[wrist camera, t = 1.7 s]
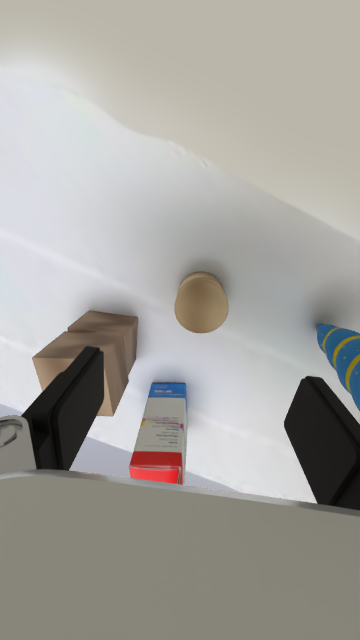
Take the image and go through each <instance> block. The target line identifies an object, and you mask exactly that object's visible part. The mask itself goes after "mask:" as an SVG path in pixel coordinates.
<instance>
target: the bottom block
mask: <svg viewBox="0 0 360 640" xmlns="http://www.w3.org/2000/svg"><path fill="white" fill-rule="evenodd" d="M137 325H138V317H130V316H123V315H116V314H109V313H102V312H95V311H88V312H87V313H85V314H84V315H83V316H82V317H80V318H79V319H78V320H77V321H75V322H74V323H73V324H72V325H70V326H69V327H68V331H73V332H122V334H123V342H124V349H125V357H126V365H127V372H128V375H129V373H130V371H131V369H132V366H133V364H134V362H135V360H136V344H137Z"/></svg>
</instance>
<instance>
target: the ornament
mask: <svg viewBox="0 0 360 640" xmlns="http://www.w3.org/2000/svg"><path fill="white" fill-rule="evenodd" d="M317 339H318V344H319V346H320V348H321V349H322V351H323V352H324V353H325V354H326V355H327V358H328V360H329V362H330V364H331V366H332V367H333V368H334V369H335V370H336V371H337V374H338V377H339V380H340V382H341V384H342V385H343V387H344V388H345V389H346V390H347V391H348V392H349V393H350V394H351V395H352V398H353V400H354V402H355V404H356V406H357V408H358V409H359V411H360V334H359V333H357V332H355V331H352V330H348V329H343V328H339V327H336V326H332V325H325V324H319V325H318V326H317Z"/></svg>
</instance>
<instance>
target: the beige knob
mask: <svg viewBox="0 0 360 640" xmlns="http://www.w3.org/2000/svg"><path fill="white" fill-rule="evenodd" d="M174 309H175V315H176V318H177V320H178V321H179V323H180V324H181V325H182V326H183V327H184V328H186V329H187V330H189V331H192V332H195V333H207V332H211V331H213V330H215V329H217V328H218V327H220V326H221V325H222V323H223V322H224V321H225V319H226V317H227V314H228V301H227V298H226V296H225V293H224V291H223V288H222V285H221V283H220V282H219V280H218V279H217V278H216V277H215V276H213V275H212V274H210V273H207V272H195V273H192V274H190V275H189V276H187V277H186V278H185V279H184V280H183V281H182V283H181V285H180V287H179V291H178V294H177V298H176V301H175V308H174Z"/></svg>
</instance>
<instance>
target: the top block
mask: <svg viewBox="0 0 360 640" xmlns="http://www.w3.org/2000/svg"><path fill="white" fill-rule="evenodd" d="M86 346H92V347H99V348H100V351H103V352H104V401H103V404H102V406H101V408H100V410H99V412H98V414H97V416H114V413H115V411H116V409H117V406H118V404H119V402H120V400H121V397H122V395H123V393H124V391H125V388H126V386H127V384H128V382H129V380H128V372H127V365H126V357H125V349H124V342H123V334H122V332H73V331H65V332H63V333H62V334H61V335H60V336H58V337H57V338H56V339H55V340H53V341H52V342H51V343H50V344H48V345H47V346H46V347H45V348H44V349H42V350H41V351H40V352H39V353H37V354H36V355H35V356H34V357H32V360H33V363H34V366H35V369H36V372H37V375H38V379H39V382H40V385H41V388H42V391H44V390H45V389H46V387H47V386H48V385H49V384H50V383H51V382H52V381H53V380H54V378H55V377H56V376H57V375H58V374H59V373H60V372H63V371H65V370H66V369H67V368H68V366H69V365H70V364H71V363H72V362H73V361H74V359H75V358H76V357H77V356H78V355H79V354H80V353H81V351H82V350H83V349H84V348H85V347H86Z"/></svg>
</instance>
